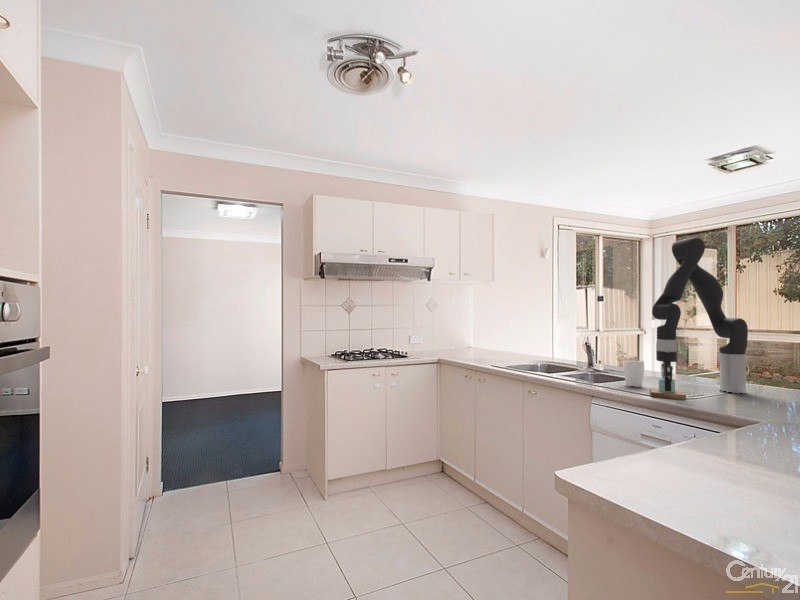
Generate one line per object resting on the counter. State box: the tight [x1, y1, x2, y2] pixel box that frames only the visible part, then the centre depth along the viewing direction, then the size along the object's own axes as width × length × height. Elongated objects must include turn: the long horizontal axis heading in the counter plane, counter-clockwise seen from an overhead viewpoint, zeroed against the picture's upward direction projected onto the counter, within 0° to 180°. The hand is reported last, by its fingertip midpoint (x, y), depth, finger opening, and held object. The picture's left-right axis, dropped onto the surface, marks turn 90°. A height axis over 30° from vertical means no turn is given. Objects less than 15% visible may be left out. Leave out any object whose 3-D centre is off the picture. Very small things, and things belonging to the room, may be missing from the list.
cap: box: [658, 377, 676, 393], centre depth 177 cm, size 6×6×5 cm
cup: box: [622, 359, 645, 388], centre depth 202 cm, size 9×9×12 cm
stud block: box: [649, 387, 687, 401], centre depth 177 cm, size 12×12×6 cm
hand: (667, 389), depth 177 cm, fingers closed on cap, 5 cm apart
